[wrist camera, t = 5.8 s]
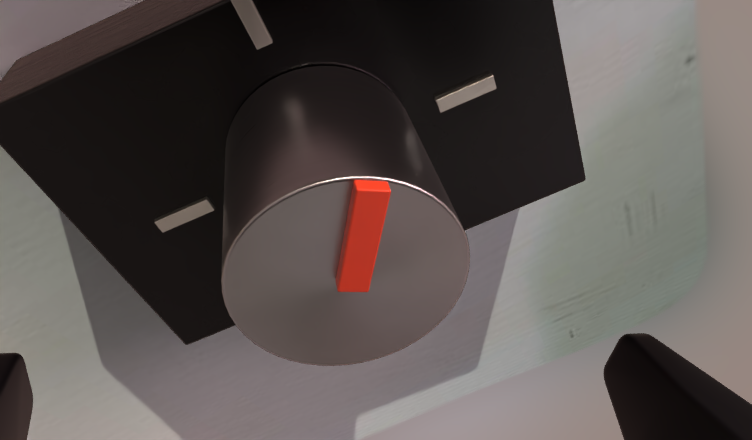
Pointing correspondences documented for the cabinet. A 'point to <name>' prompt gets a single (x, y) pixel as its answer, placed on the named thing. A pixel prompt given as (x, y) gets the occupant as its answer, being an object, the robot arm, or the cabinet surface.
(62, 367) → the cabinet surface
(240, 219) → the knob
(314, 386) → the cabinet surface
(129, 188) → the panel
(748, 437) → the robot arm
